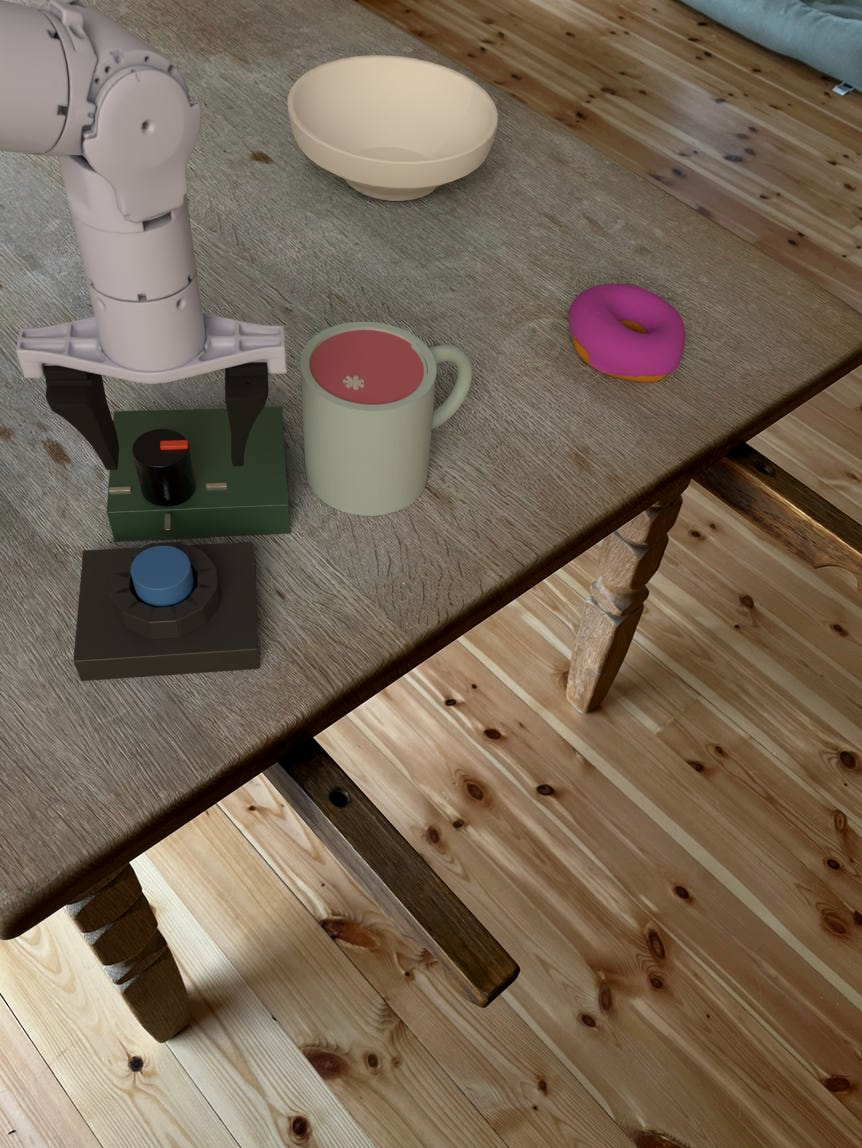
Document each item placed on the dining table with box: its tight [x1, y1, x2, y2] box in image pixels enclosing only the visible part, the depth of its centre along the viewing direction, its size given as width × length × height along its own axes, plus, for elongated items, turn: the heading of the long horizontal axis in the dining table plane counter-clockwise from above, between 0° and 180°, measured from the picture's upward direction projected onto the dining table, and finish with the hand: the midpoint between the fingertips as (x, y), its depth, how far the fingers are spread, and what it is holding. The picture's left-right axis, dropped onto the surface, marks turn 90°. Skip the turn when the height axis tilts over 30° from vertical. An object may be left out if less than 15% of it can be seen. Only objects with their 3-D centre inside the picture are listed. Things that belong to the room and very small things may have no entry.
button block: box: [73, 541, 260, 682], centre depth 67 cm, size 11×9×4 cm
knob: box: [132, 429, 195, 507], centre depth 70 cm, size 4×4×4 cm
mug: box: [299, 321, 473, 517], centre depth 75 cm, size 14×9×10 cm
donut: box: [567, 282, 687, 383], centre depth 88 cm, size 10×10×5 cm
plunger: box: [131, 545, 194, 606], centre depth 65 cm, size 4×4×2 cm
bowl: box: [286, 54, 499, 202], centre depth 100 cm, size 20×20×7 cm
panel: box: [106, 406, 291, 543], centre depth 74 cm, size 12×12×3 cm
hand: (176, 457), depth 66 cm, fingers open, 7 cm apart
